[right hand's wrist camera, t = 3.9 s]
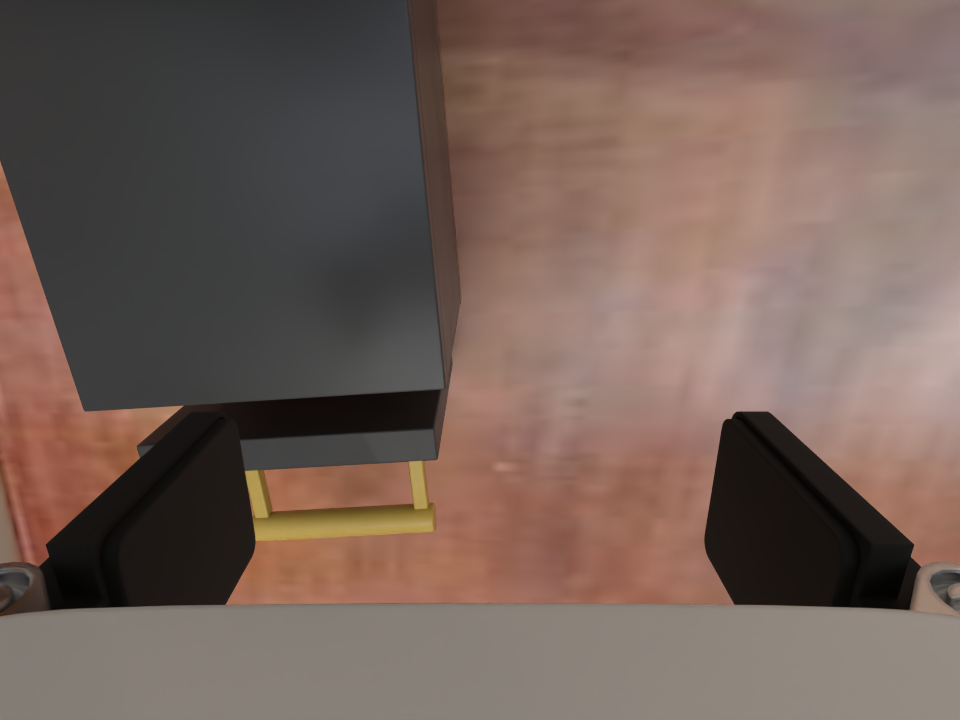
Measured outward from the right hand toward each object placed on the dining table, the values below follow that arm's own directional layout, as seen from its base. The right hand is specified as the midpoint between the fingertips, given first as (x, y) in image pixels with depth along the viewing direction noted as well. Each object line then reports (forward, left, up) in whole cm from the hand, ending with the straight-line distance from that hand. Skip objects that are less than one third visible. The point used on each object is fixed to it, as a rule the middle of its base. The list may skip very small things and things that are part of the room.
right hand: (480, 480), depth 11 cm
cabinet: (+9, +5, -17) cm, 20 cm away
